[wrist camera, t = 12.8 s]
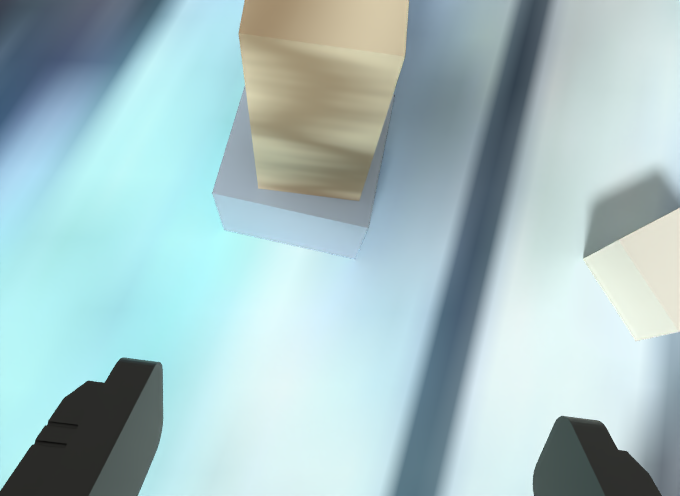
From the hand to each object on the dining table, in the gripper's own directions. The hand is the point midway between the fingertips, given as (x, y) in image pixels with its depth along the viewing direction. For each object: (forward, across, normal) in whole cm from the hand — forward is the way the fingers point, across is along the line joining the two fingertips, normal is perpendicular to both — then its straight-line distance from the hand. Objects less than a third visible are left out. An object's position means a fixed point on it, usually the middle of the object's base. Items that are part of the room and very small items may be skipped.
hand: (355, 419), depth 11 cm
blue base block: (+20, +2, +3) cm, 20 cm away
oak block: (+16, +2, 0) cm, 16 cm away
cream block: (+18, -17, +5) cm, 25 cm away
